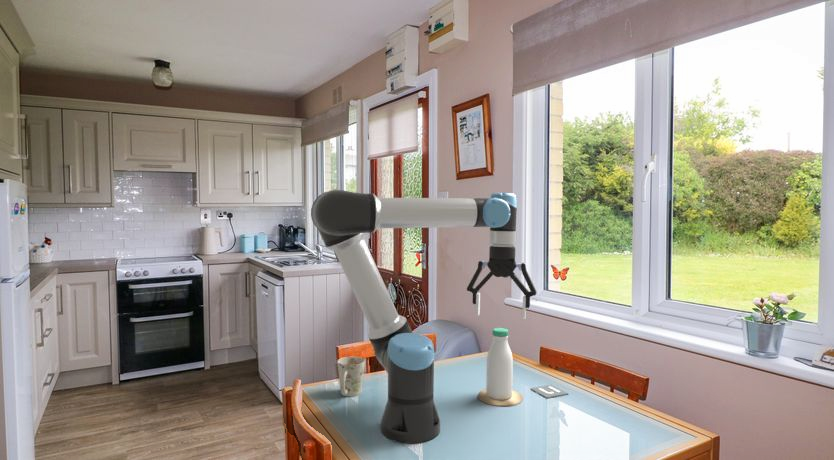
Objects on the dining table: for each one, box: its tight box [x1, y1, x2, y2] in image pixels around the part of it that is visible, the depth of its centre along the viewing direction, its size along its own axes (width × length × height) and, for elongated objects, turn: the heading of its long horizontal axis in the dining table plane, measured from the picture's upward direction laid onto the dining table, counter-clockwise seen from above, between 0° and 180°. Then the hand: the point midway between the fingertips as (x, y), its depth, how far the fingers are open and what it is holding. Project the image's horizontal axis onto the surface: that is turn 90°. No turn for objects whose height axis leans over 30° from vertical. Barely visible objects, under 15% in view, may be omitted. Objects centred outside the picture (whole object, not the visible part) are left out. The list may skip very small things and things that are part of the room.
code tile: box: [530, 384, 569, 399], centre depth 153 cm, size 8×8×1 cm
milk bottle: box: [485, 327, 514, 400], centre depth 147 cm, size 8×8×20 cm
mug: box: [336, 356, 366, 398], centre depth 148 cm, size 8×13×10 cm, turn 174°
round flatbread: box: [477, 388, 524, 407], centre depth 148 cm, size 13×13×1 cm
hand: (500, 317), depth 147 cm, fingers open, 13 cm apart
